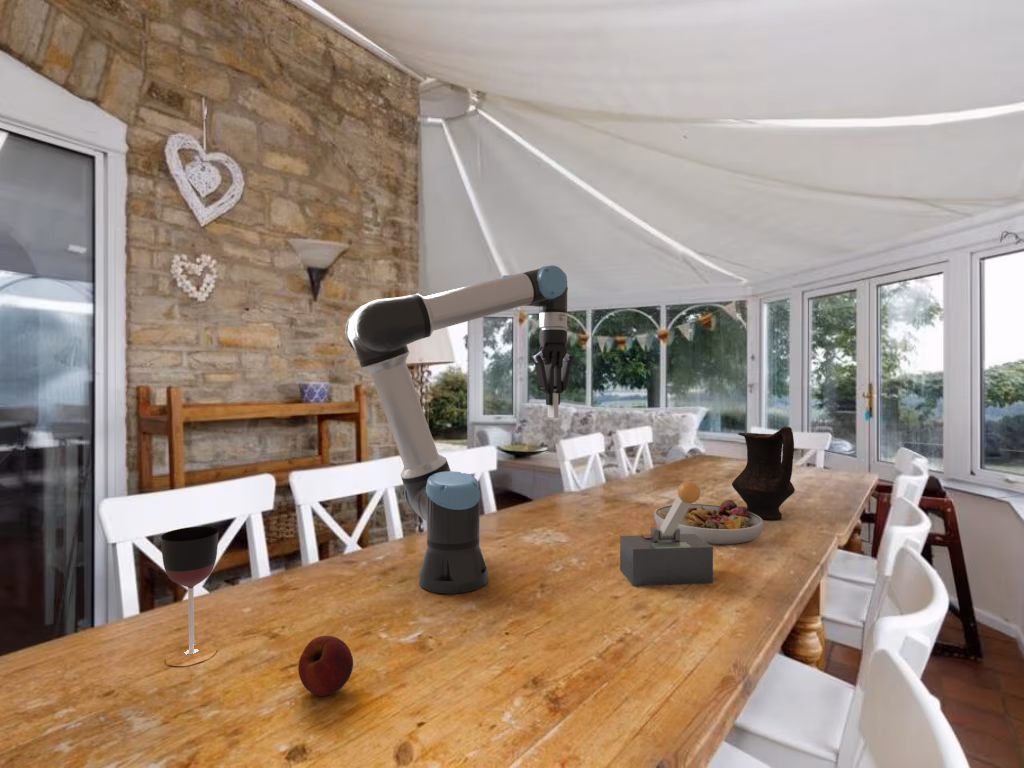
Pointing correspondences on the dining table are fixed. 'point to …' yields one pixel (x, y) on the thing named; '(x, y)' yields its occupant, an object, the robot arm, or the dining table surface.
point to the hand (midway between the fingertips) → (552, 417)
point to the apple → (325, 665)
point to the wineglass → (189, 562)
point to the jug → (767, 472)
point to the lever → (679, 509)
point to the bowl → (716, 522)
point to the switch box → (666, 559)
